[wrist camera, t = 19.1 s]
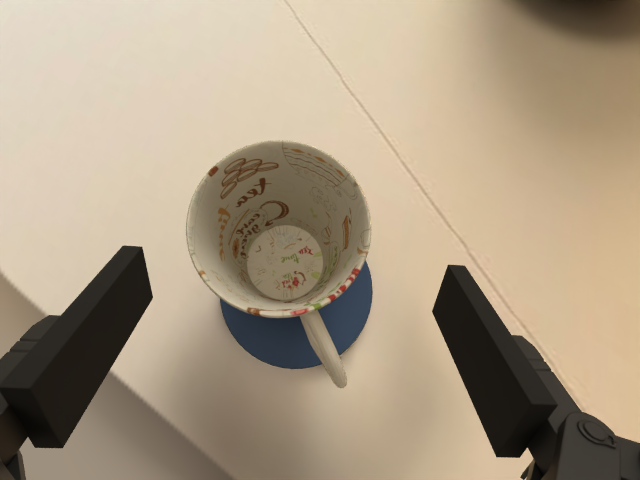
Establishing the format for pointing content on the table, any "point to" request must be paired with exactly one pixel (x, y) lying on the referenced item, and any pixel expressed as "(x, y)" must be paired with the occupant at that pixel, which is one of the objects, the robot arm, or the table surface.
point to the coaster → (302, 327)
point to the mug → (281, 235)
